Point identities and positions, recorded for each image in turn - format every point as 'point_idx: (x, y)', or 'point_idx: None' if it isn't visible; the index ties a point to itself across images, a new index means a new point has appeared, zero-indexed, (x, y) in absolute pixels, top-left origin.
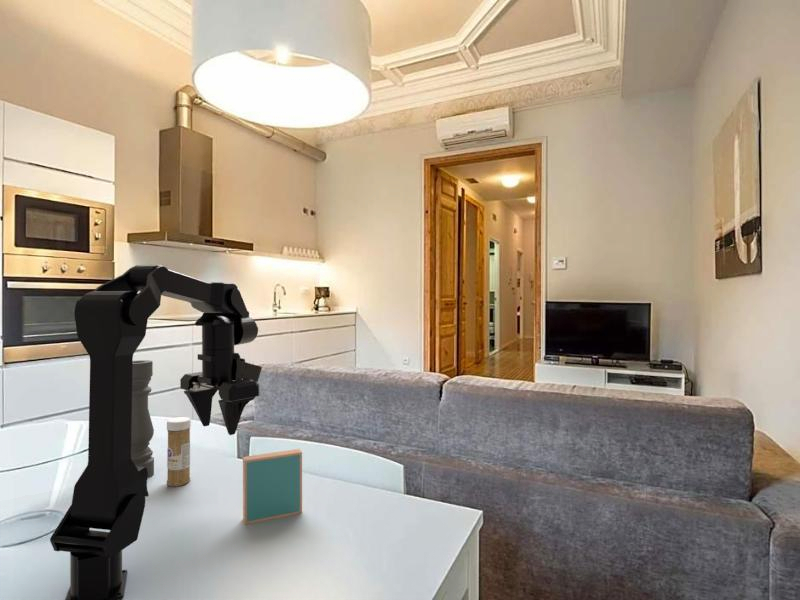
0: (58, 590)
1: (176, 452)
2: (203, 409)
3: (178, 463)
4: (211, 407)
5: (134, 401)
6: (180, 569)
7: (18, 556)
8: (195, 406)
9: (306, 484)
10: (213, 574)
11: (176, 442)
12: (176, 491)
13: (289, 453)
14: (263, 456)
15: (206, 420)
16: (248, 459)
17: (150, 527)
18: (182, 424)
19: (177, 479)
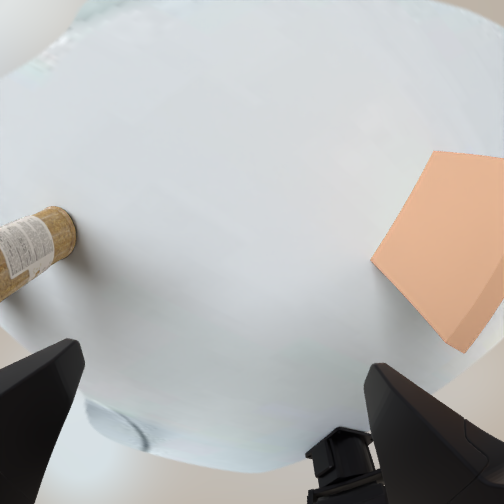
0: (298, 459)
1: (22, 282)
2: (33, 433)
3: (43, 265)
4: (5, 392)
5: None
6: None
7: (182, 457)
8: (40, 481)
9: (346, 30)
10: (435, 369)
11: (3, 296)
12: (99, 262)
13: None
14: (497, 295)
15: (67, 374)
16: (471, 341)
17: (235, 374)
18: None
19: (65, 251)
